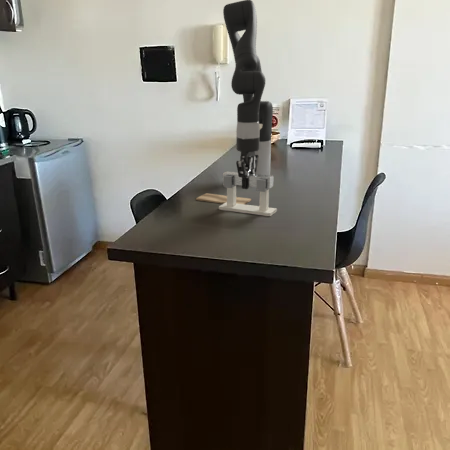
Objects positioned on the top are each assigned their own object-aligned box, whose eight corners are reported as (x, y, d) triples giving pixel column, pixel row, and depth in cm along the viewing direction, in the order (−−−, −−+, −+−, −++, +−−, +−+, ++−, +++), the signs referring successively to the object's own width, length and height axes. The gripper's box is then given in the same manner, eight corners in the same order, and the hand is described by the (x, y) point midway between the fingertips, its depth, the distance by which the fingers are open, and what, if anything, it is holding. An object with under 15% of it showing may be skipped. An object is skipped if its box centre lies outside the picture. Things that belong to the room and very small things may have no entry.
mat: (206, 194, 175) (205, 193, 174) (251, 200, 167) (251, 198, 167) (195, 200, 168) (195, 198, 168) (242, 206, 160) (242, 204, 160)
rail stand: (226, 204, 162) (226, 171, 158) (277, 211, 154) (278, 176, 150) (218, 209, 156) (217, 175, 152) (270, 216, 148) (271, 180, 144)
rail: (227, 181, 157) (227, 171, 156) (273, 186, 150) (273, 175, 149) (222, 183, 154) (222, 173, 153) (269, 188, 147) (269, 178, 146)
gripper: (245, 132, 154) (245, 181, 160) (228, 138, 142) (228, 191, 148) (266, 133, 151) (265, 183, 157) (250, 139, 139) (249, 193, 145)
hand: (247, 187), depth 152 cm, fingers closed on rail, 3 cm apart
